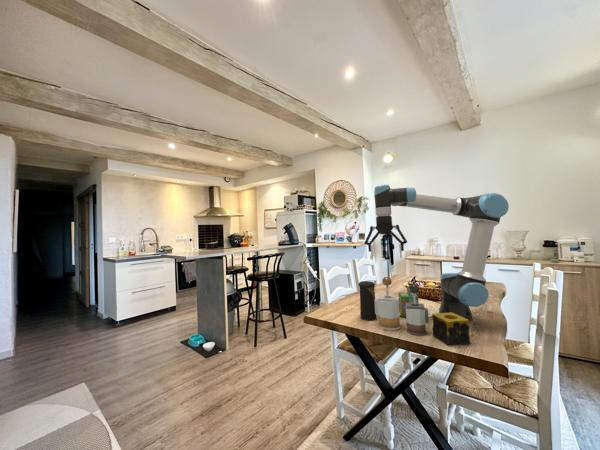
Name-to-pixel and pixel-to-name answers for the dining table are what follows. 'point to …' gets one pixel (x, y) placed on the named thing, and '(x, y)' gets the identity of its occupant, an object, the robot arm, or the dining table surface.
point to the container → (367, 300)
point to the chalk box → (405, 301)
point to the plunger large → (387, 284)
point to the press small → (416, 319)
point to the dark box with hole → (451, 328)
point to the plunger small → (414, 291)
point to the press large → (388, 312)
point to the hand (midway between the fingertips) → (386, 258)
